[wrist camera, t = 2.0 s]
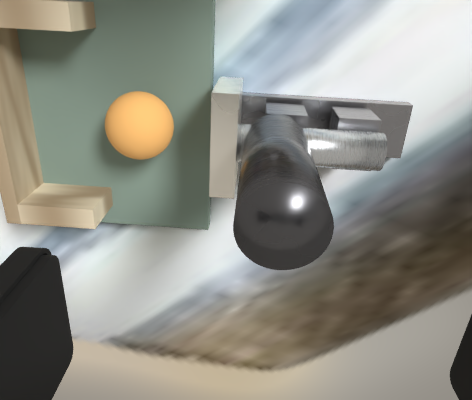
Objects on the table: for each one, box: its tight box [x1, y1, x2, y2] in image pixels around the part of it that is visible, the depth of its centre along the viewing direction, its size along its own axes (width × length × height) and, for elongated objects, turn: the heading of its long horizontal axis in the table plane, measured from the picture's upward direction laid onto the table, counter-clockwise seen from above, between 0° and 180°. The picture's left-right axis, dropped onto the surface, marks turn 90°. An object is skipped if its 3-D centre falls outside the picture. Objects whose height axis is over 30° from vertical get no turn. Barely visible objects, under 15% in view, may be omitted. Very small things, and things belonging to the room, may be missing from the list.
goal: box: [0, 0, 113, 229], centre depth 22 cm, size 5×11×3 cm, turn 177°
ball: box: [105, 91, 174, 160], centre depth 21 cm, size 4×4×4 cm
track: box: [241, 92, 413, 158], centre depth 23 cm, size 11×3×1 cm, turn 87°
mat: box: [17, 0, 215, 230], centre depth 23 cm, size 11×14×1 cm
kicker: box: [209, 77, 387, 270], centre depth 17 cm, size 8×5×11 cm, turn 87°
